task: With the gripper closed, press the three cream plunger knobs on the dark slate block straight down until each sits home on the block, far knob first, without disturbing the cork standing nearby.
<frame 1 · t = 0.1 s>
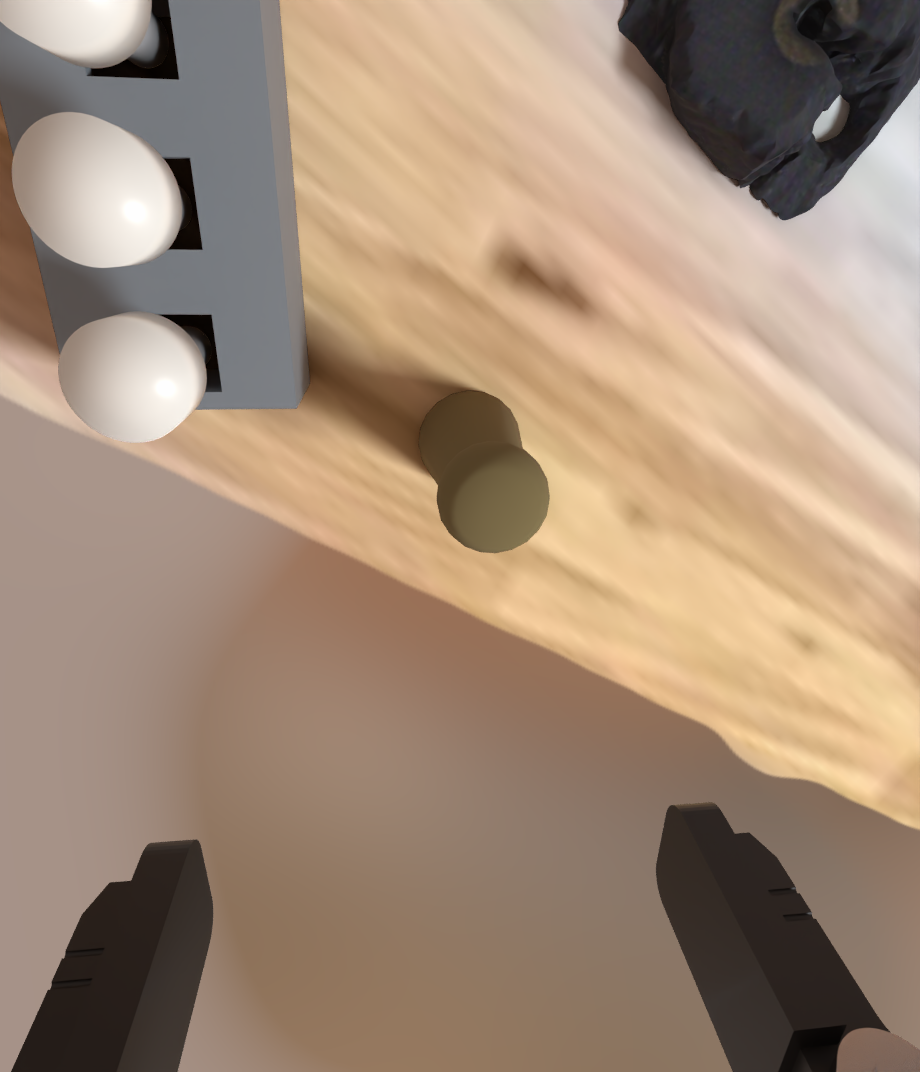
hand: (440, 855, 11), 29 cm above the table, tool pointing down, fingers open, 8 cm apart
mount block: (192, 210, 32), on the table
knob middle: (134, 200, 25), point 8 cm above the table, slide at 0.0 cm
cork: (469, 440, 39), on the table
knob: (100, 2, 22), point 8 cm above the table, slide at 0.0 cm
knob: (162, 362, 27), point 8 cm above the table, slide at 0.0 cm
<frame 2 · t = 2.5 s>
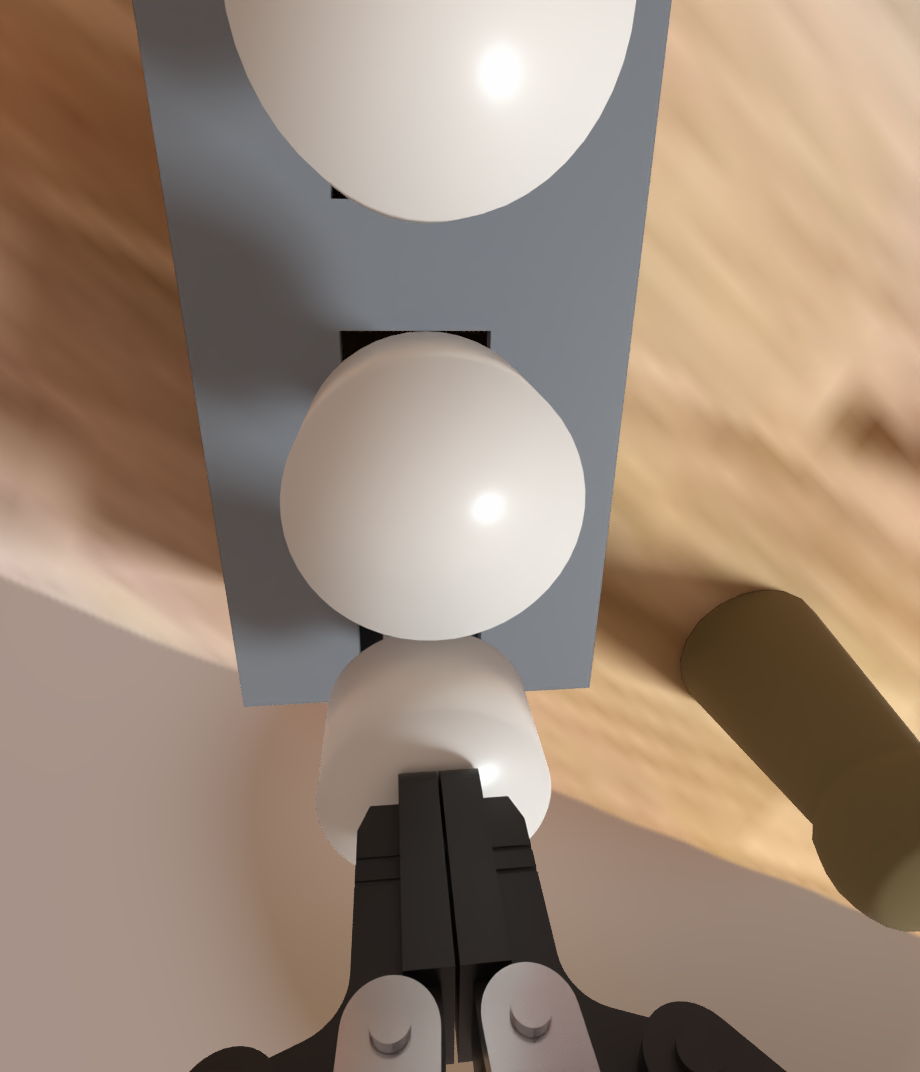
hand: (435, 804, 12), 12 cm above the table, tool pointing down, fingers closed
mount block: (408, 361, 21), on the table
knob middle: (421, 432, 13), point 8 cm above the table, slide at 0.0 cm
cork: (747, 650, 27), on the table
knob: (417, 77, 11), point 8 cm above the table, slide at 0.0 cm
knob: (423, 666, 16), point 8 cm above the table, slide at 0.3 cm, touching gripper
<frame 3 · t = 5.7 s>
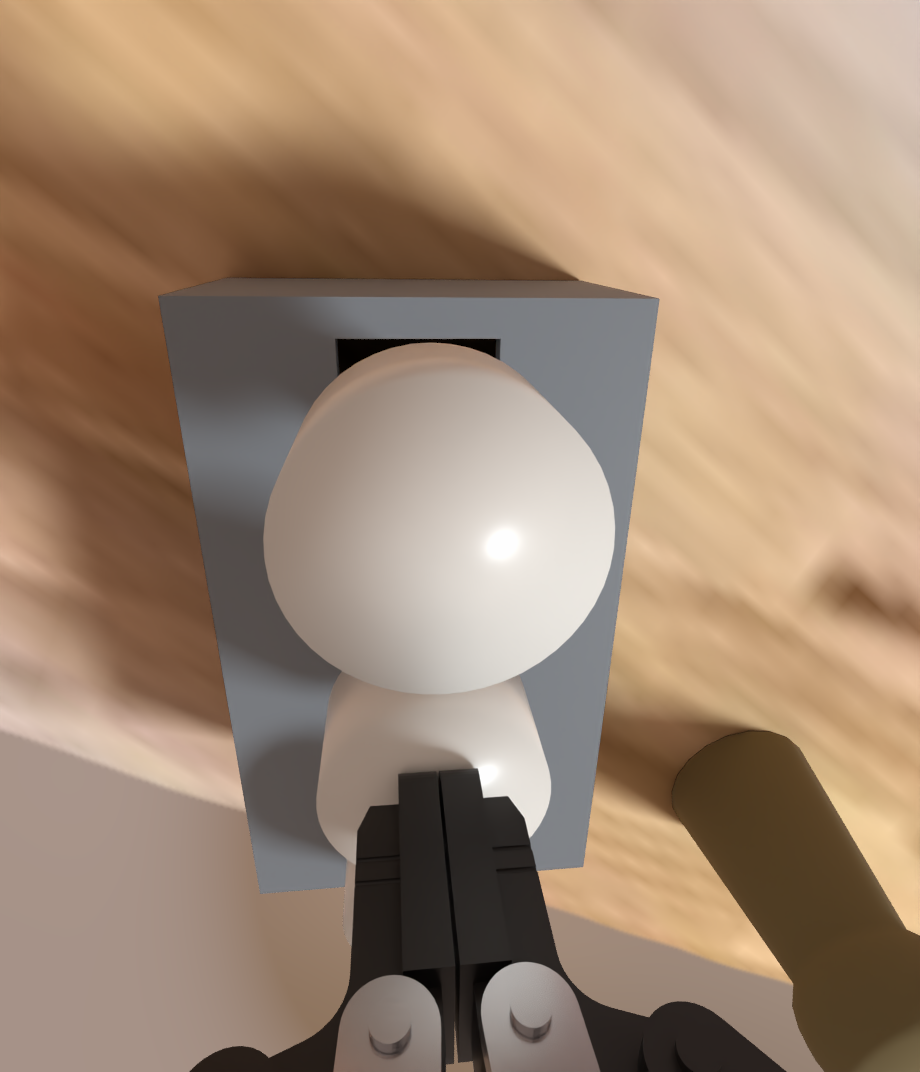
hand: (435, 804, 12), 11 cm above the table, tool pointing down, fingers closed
mount block: (413, 548, 22), on the table
knob middle: (423, 665, 16), point 7 cm above the table, slide at 1.7 cm, touching gripper
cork: (736, 781, 29), on the table
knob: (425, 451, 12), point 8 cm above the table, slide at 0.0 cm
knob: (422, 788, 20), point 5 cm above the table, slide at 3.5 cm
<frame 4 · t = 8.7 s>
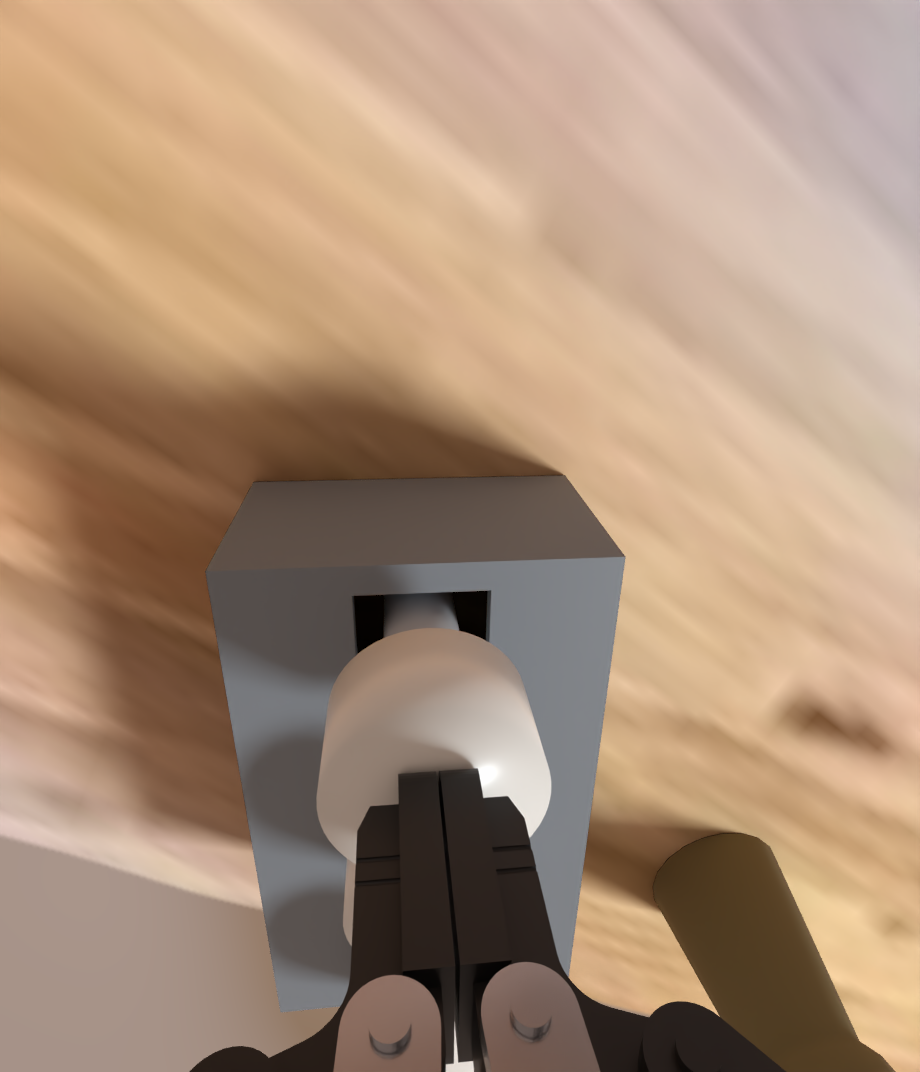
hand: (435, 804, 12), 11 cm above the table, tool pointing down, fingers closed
mount block: (416, 691, 24), on the table
knob middle: (422, 787, 20), point 5 cm above the table, slide at 3.5 cm
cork: (712, 874, 31), on the table
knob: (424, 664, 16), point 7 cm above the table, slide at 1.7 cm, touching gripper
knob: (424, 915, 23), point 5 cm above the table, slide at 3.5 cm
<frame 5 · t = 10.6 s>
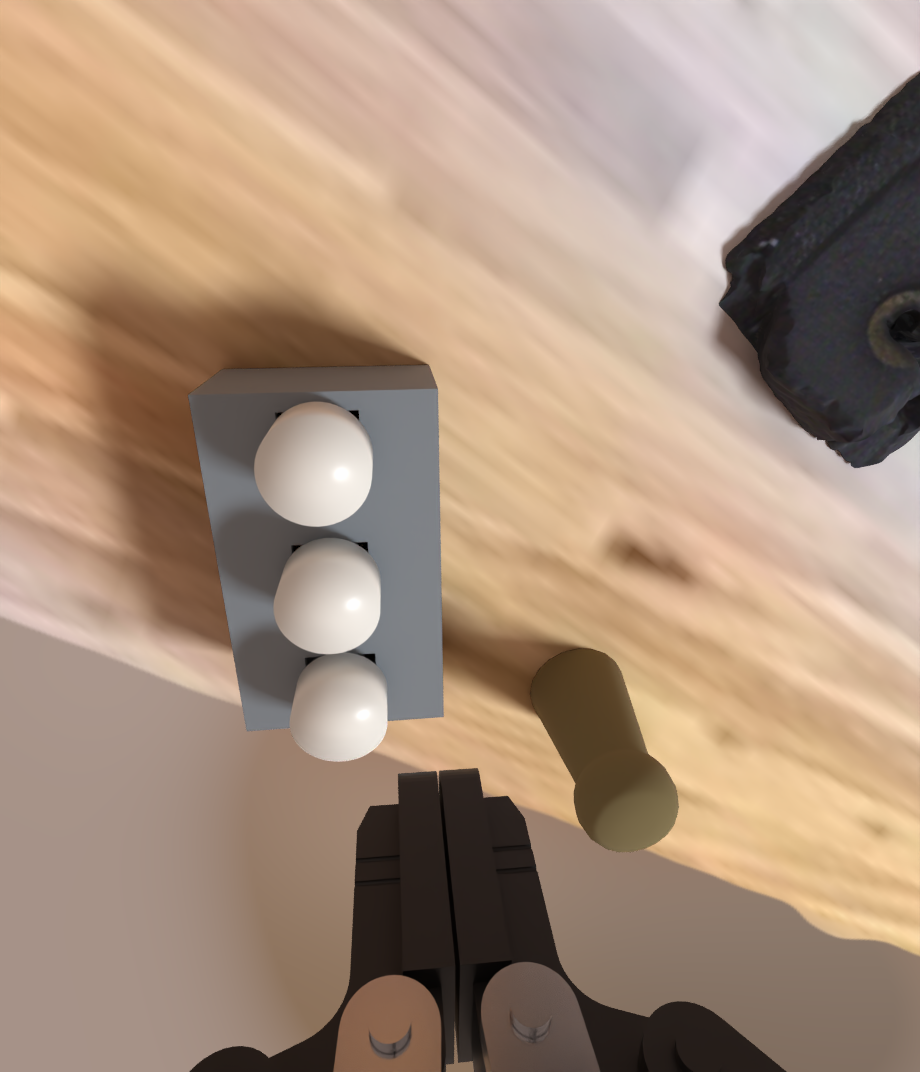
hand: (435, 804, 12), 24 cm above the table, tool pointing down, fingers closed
mount block: (340, 526, 35), on the table
knob middle: (334, 564, 31), point 5 cm above the table, slide at 3.5 cm
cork: (575, 686, 42), on the table
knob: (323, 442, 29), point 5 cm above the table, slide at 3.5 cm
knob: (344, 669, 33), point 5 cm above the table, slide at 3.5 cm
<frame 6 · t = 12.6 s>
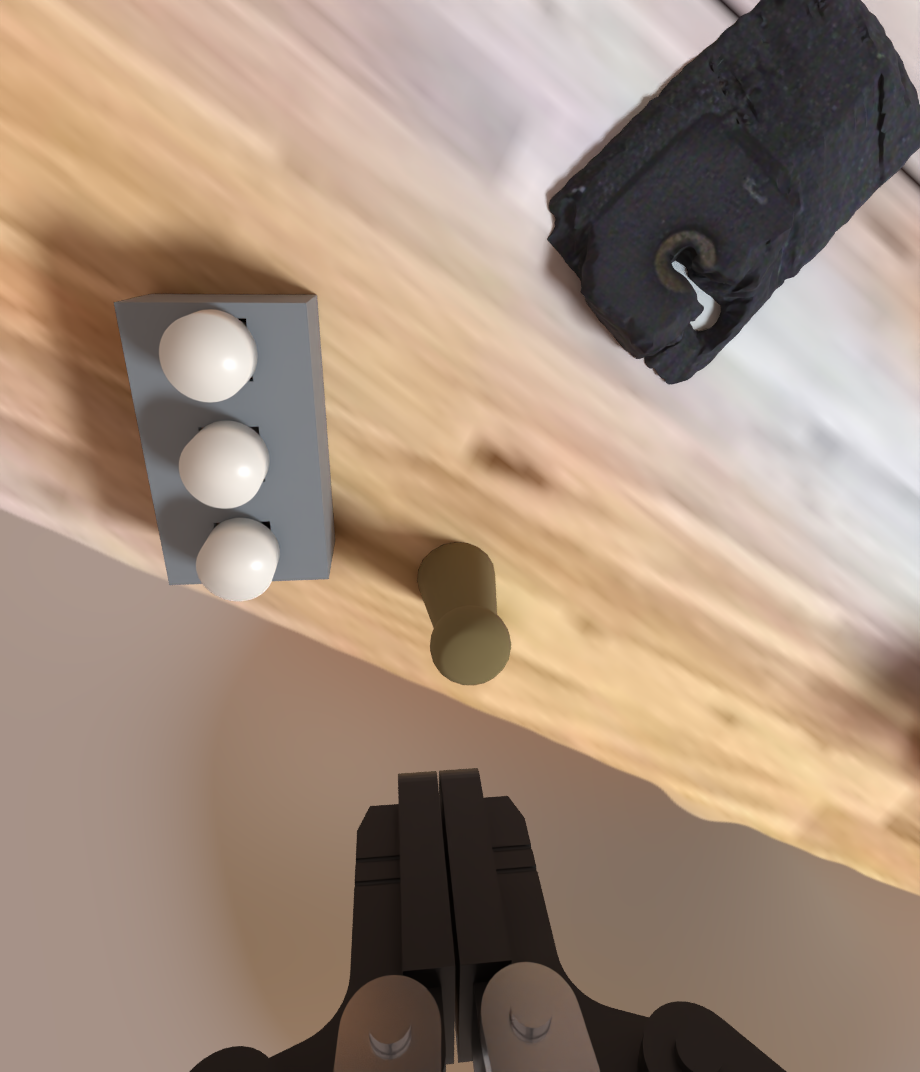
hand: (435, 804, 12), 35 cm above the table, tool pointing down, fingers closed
dark slate chunk: (724, 194, 41), on the table
mount block: (251, 428, 44), on the table
knob middle: (236, 448, 39), point 5 cm above the table, slide at 3.5 cm
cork: (456, 576, 50), on the table
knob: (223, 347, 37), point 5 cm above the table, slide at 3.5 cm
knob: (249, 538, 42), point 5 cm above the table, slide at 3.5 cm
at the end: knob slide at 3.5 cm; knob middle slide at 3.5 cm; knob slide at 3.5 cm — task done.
